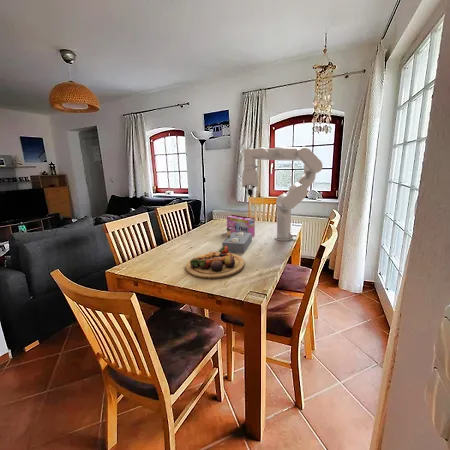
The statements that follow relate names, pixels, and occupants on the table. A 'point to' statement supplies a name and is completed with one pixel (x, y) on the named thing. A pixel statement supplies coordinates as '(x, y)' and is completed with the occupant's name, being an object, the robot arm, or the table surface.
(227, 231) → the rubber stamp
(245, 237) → the panel
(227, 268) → the wooden plate with food
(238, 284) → the table surface
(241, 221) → the gum box
